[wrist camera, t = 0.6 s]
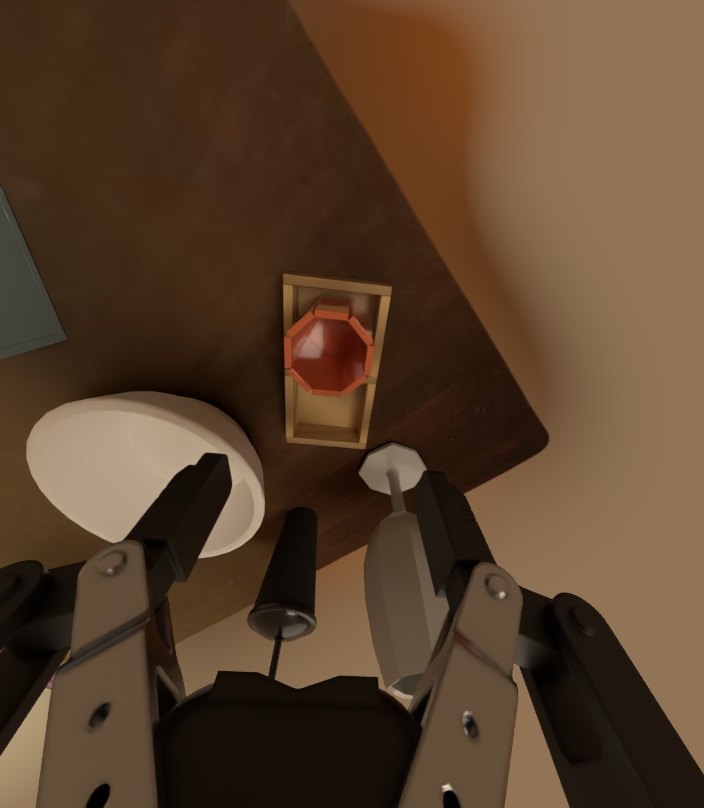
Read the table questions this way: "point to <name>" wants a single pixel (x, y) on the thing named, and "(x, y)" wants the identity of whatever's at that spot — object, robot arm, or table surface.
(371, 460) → the wineglass
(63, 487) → the bowl
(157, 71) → the table surface
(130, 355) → the table surface
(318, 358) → the cup
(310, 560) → the drinking cup
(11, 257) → the open box
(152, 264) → the table surface
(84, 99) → the table surface
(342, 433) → the rack
